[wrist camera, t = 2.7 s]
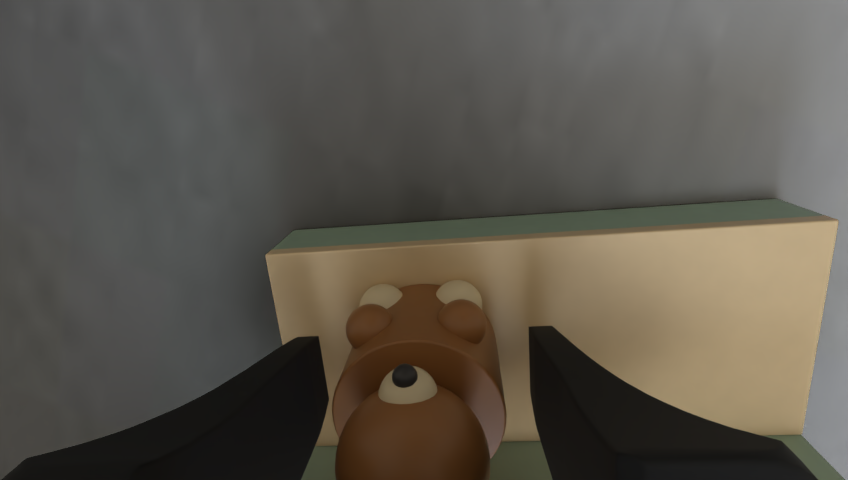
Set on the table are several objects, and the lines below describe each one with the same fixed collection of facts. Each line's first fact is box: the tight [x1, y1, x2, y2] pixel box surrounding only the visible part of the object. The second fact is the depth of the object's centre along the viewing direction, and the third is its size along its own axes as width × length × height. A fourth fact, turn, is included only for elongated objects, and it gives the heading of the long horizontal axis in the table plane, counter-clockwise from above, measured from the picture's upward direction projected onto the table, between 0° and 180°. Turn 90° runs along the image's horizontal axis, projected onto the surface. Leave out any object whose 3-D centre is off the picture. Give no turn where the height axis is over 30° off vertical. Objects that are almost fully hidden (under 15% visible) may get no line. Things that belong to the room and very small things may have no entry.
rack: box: [265, 199, 845, 480], centre depth 14 cm, size 15×14×6 cm
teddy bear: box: [332, 280, 507, 480], centre depth 11 cm, size 4×4×6 cm
